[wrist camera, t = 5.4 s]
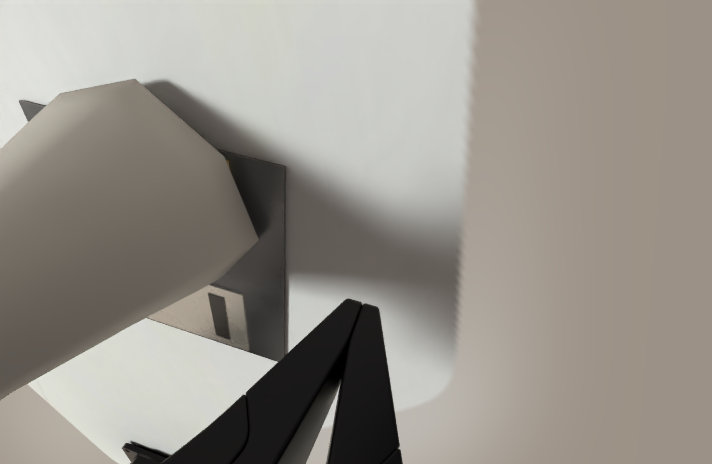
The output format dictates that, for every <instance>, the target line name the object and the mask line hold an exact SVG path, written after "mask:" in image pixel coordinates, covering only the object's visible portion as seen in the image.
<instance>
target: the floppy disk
mask: <svg viewBox="0 0 712 464" xmlns="http://www.w3.org/2000/svg"><path fill="white" fill-rule="evenodd" d="M19 103H20V105H21V107H22V109H23V112H24V114H25V116H26V118H27V120H28V122H29V121H30V120H31V119H32V118H33V117H34V116H35V115H37V114H38V113H39V112H40V111H41V110H42V109H43V108H44V107H45V106H43V105H39V104H35V103H31V102H27V101H23V100H19ZM216 150H217V151H218V152H219V153H221V154H222V155H223V156H224V157H225V160H226V162H227V164H228V167H229V169H230V172H231V174H232V177H233V179H234V181H235V184H236V186H237V189H238V191H239V193H240V196H241V198H242V201H243V203H244V205H245V208H246V210H247V213H248V215H249V217H250V220H251V222H252V225H253V227H254V230H255V232H256V234H257V237H258V239H259V241H258V242H257V243H256V244H255V245H254V246H253V247H252V248H251V249H250V250H249V251H248V252H247V253H246V254H245V255H244V256H243V257H242V258H241V259H240V260H239V261H238V262H237V263H236V264H235V265H234V266H233V267H232V268H231V269H230V270H229V271H228V272H227V273H226V274H225V275H224V276H223V277H222V278H220V279H218V280H216V281H215V282H213V283H211V284H209V285H207V286H206V287H204V288H202V289H200V290H198V291H197V292H195V293H193V294H191V295H189V296H187V297H185V298H183V299H181V300H179V301H177V302H175V303H173V304H171V305H170V306H168V307H166V308H164V309H162V310H160V311H158V312H156V313H154V314H152V315H150V316H148V317H146V318H148V319H151V320H154V321H157V322H160V323H163V324H166V325H169V326H172V327H175V328H178V329H181V330H184V331H187V332H190V333H193V334H196V335H199V336H202V337H205V338H208V339H211V340H214V341H217V342H220V343H223V344H226V345H229V346H232V347H235V348H238V349H241V350H244V351H247V352H250V353H253V354H256V355H259V356H262V357H265V358H268V359H271V360H274V361H277V362H279V361H280V360H281V359H282V358H283V357H284V356H285V166H281V165H277V164H273V163H270V162H266V161H262V160H258V159H254V158H250V157H246V156H242V155H238V154H234V153H230V152H226V151H222V150H218V149H216Z"/></svg>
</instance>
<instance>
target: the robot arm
mask: <svg viewBox="0 0 712 464" xmlns="http://www.w3.org/2000/svg"><path fill="white" fill-rule="evenodd" d="M340 383H341V384H340ZM339 386H340V389H339ZM338 389H339V394H338V400H337V405H336V411H335V416H334V422H333V428H332V434H331V439H330V444H329V450H328V456H327V462H326V464H403V463H402V457H401V451H400V449H398V448H399V446H400V444H399V438H398V431H397V425H396V418H395V411H394V404H393V398H392V391H391V385H390V378H389V371H388V365H387V358H386V351H385V345H384V338H383V331H382V325H381V318H380V311H379V308H378V307H376V306H373V305H369V304H363V305H362V303H361V302H359V301H356V300H352V299H346V300H345V301H343V302H342V303H341V304H340V305H339V306H338V307H337V308H336V309H335V310H334V311H333V312H332V313H331V314H329V315H328V316H327V317H326V318H325V319H324V320H323V321H322V322H321V323H320V324H319V325H318V326H317V327H316V328H314V329H313V330H312V331H311V332H310V333H309V334H308V335H307V336H306V337H305V338H304V339H303V340H302V341H301V342H299V343H298V344H297V345H296V346H295V347H294V348H293V349H292V350H291V351H290V352H289V353H288V354H287V355H286V356H284V357H283V358H282V359H281V360H280V361H279V362H278V363H277V364H276V365H275V366H274V367H273V368H272V369H270V370H269V371H268V372H267V373H266V374H265V375H264V376H263V377H262V378H261V379H260V380H259V381H258V382H257V383H255V384H254V385H253V386H252V387H251V388H250V389H249V390H248V391H247V392H246V395H242V396H241V397H240V398H239V399H238V400H237V401H236V402H235V403H234V404H233V405H232V406H231V407H230V408H228V409H227V410H226V411H225V412H224V413H223V414H222V415H220V416H219V417H218V418H217V419H216V420H215V421H214V422H213V423H211V424H210V425H209V426H208V427H207V428H205V429H204V430H203V431H202V432H200V433H199V434H198V435H197V436H195V437H194V438H193V439H192V440H190V441H189V442H188V443H187V444H185V445H184V446H183V447H182V448H180V449H179V450H178V451H176V452H175V453H174V454H172V455H171V456H170V457H168V458H165V457H162V456H160V455H157V454H155V453H152V452H149V451H147V450H144V449H142V448H139V447H137V446H134V445H132V444H129V443H125V445H124V446H123V447H122V449H123V451H124V452H125V454H126V455H127V456H128V458H129V459H130V461H131V463H130V464H306V461H307V459H308V457H309V455H310V452H311V450H312V448H313V446H314V443H315V441H316V439H317V437H318V434H319V432H320V430H321V428H322V425H323V423H324V421H325V419H326V416H327V414H328V412H329V409H330V407H331V405H332V403H333V400H334V398H335V396H336V393H337V391H338Z"/></svg>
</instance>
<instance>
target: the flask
mask: <svg viewBox="0 0 712 464" xmlns="http://www.w3.org/2000/svg"><path fill="white" fill-rule="evenodd" d="M258 241H259V239H258V237H257V234H256V232H255V230H254V227H253V225H252V222H251V220H250V217H249V215H248V213H247V210H246V208H245V205H244V203H243V201H242V198H241V196H240V193H239V191H238V189H237V186H236V184H235V181H234V179H233V177H232V174H231V172H230V169H229V167H228V164H227V162H226V160H225V157H224V156H223V155H222V154H221V153H219V152H218V151H217V150H216V149H215V148H214V147H213V146H211V145H210V144H209V143H208V142H207V141H206V140H205V139H203V138H202V137H201V136H200V135H199V134H198V133H197V132H195V131H194V130H193V129H192V128H191V127H190V126H189V125H187V124H186V123H185V122H184V121H183V120H182V119H181V118H179V117H178V116H177V115H176V114H175V113H174V112H173V111H171V110H170V109H169V108H168V107H167V106H166V105H165V104H163V103H162V102H161V101H160V100H159V99H158V98H157V97H155V96H154V95H153V94H152V93H151V92H150V91H149V90H147V89H146V88H145V87H144V86H143V85H142V84H141V83H139V82H138V81H137V80H136V79H131V80H126V81H121V82H116V83H111V84H106V85H100V86H95V87H90V88H85V89H80V90H75V91H70V92H65V93H60V94H59V95H58V96H57V97H56V98H55V99H53V100H52V101H51V102H50V103H49V104H48V105H47V106H45V107H44V108H43V109H42V110H41V111H40V112H39V113H38V114H37V115H35V116H34V117H33V118H32V119H31V120H30V121H29V122H28V123H27V124H26V125H25V126H24V127H23V128H22V129H21V130H20V131H19V132H18V133H17V134H16V135H15V136H14V137H13V138H12V139H11V140H10V141H9V142H8V143H7V144H5V145H4V146H3V147H2V148H1V149H0V400H1V399H3V398H4V397H6V396H7V395H9V394H10V393H12V392H13V391H15V390H17V389H19V388H20V387H22V386H24V385H26V384H28V383H29V382H31V381H33V380H35V379H36V378H38V377H40V376H42V375H44V374H45V373H47V372H49V371H51V370H53V369H54V368H56V367H58V366H60V365H61V364H63V363H65V362H67V361H69V360H70V359H72V358H74V357H76V356H77V355H79V354H81V353H83V352H85V351H86V350H88V349H90V348H92V347H94V346H95V345H97V344H99V343H101V342H102V341H104V340H106V339H108V338H110V337H111V336H113V335H115V334H117V333H119V332H120V331H122V330H124V329H126V328H127V327H129V326H131V325H133V324H135V323H137V322H139V321H141V320H143V319H144V318H146V317H148V316H150V315H152V314H154V313H156V312H158V311H160V310H162V309H164V308H166V307H168V306H170V305H171V304H173V303H175V302H177V301H179V300H181V299H183V298H185V297H187V296H189V295H191V294H193V293H195V292H197V291H198V290H200V289H202V288H204V287H206V286H207V285H209V284H211V283H213V282H215V281H216V280H218V279H220V278H222V277H223V276H224V275H225V274H226V273H227V272H228V271H229V270H230V269H231V268H232V267H233V266H234V265H235V264H236V263H237V262H238V261H239V260H240V259H241V258H242V257H243V256H244V255H245V254H246V253H247V252H248V251H249V250H250V249H251V248H252V247H253V246H254V245H255V244H256V243H257V242H258Z"/></svg>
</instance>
